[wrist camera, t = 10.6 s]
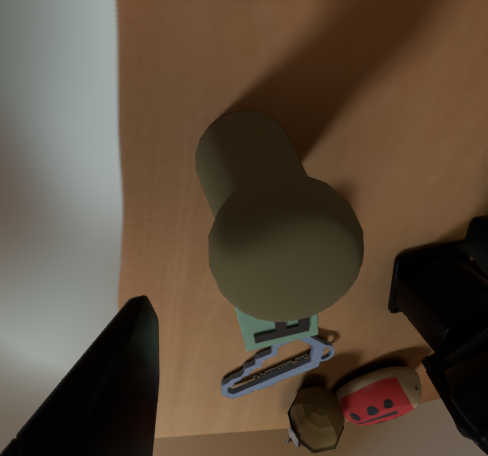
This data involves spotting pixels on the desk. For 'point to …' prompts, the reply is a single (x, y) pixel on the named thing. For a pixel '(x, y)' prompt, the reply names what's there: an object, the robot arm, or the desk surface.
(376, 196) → the desk surface
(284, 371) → the key tool
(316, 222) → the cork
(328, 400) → the grenade
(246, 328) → the letter block
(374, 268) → the desk surface
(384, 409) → the ladybug figurine
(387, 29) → the desk surface
